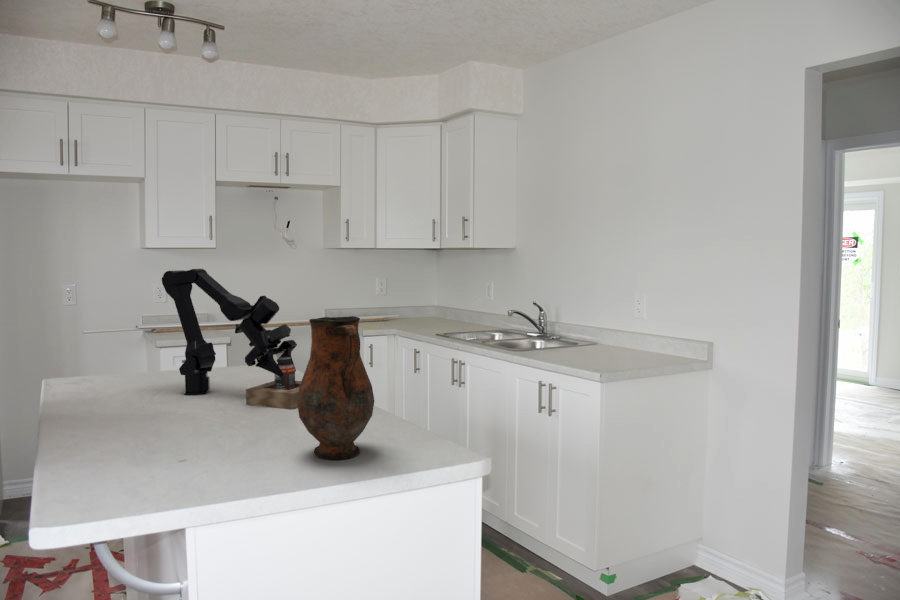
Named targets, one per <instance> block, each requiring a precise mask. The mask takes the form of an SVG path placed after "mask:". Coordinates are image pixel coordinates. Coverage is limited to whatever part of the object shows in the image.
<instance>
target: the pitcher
mask: <svg viewBox="0 0 900 600" xmlns="http://www.w3.org/2000/svg"><path fill="white" fill-rule="evenodd" d="M360 320H361V319H360V317H358V316H353V315H352V316H331V317H329V316H325V317H319V318H318V317H317V318H310V319H309V320H308V321H309V323H310V331H311V345H310V346H311V347H310V352H309V353H310V354H309V355H310V356H309V359H308V362H307V365H306V367H305V370H304V373H303V376H302V378H301V380H300V381H301V384H300V387H299V393H298V400H297V404H298V407H297V409H298V410H297V411H298V416H299V417H298V418H299V420H300V421H301V422H302V424H303V426H304V427H305V429H306V430H307V432H308V433H309V434H310V435H311V436H312V437H313V438H314V439H315V440H317V441H318V442H319V444H318V446H316V447H315V448H314V450H313V455H314V454H315V455H316V456H317V457H316V456H315V455H314V456H315V457H316V458H318V457H319V459H321V458H322V460H326V459H328V460H327V461H343V460H347V459H348V460H349V459H352V458H355V457H357V456H358V455H359V454H360V452H361V449H360V448H359V446H358V445H356V444H355V441H356V440H357V439H358V438H359V437H360V436H361V435H362V433H363V432H364V430H365V429H366V427H367V425H368V424H369V421H370V420H371V418H372V417H373V413H374V406H375V395H374V390H373V386H372V382H371V379H370V378H369V375H368V373H367V370H366V367H365V364H364V361H363V360H362V357H361V338H360V334H359V322H360Z"/></svg>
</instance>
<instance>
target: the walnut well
mask: <svg viewBox="0 0 900 600" xmlns="http://www.w3.org/2000/svg"><path fill="white" fill-rule="evenodd" d="M301 381H302V380H295V388H294V389H291V390H282V389H275V380H273V381H269V382H266V383H262V384H259V385H256V386H253V387H249V388H245V404H246V405H248V406H254V407H265V408H276V409H285V410H287V409H288V410H294V409H298V404H297V400H298V393H299V387H300V384H301Z"/></svg>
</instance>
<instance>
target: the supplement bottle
mask: <svg viewBox="0 0 900 600" xmlns="http://www.w3.org/2000/svg"><path fill="white" fill-rule="evenodd" d="M291 357H292V356H291ZM291 357H280V358H278V357H277V359H276V363H277V365H278V366H279V368H280V369H281V371H282V372H283V376H281V377H280V376H278V375H276V374H274V373H273V374H274V375H273V376H274V381H275V389H282V390H291V389H294V388H295V381H296V371H295V369H296V367H295V364H294V365H293V364H291Z"/></svg>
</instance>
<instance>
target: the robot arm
mask: <svg viewBox="0 0 900 600" xmlns="http://www.w3.org/2000/svg"><path fill="white" fill-rule="evenodd" d="M161 283H162V286H163V288H164V291H165V293H166V294H167V295H168V296H169V297H170V298H171V299H172V300H173V302H174V304H175V305H174V306H175V309H176V311H177V314H178V318H179V321H180V325H181V328H182V331H183V334H184V337H185V341H186V347H185V352H184V357H185V360H184V362H183V363H182V365H181V366H180V367H178V369H179V373H180V375H181V376H184V383H185V384H184V385H185V386H184V387H185V388H184V389H185V391H184V393H183V395H185V396H187V395H206V394H208V392H209V391H210V389H211V380H210V378H211V377H210V376H208V372H210V373H211V372H212V370H213V367H214V364H215V362H216V355H217V353H216V352H215V349H214V345H213V343H212V342H207V341H206V340H205V339H204V337H203V333H202V330H201V326H200V323H199V321H198V317H197V314H196V311H195V310H196V309H195V308H194V307H195V306H194V304H193V301H192V297H191V295H192V290H193V284H195V285H196V286H197V287H198V288H199V289H201V290H202V291H203V292H204V293H205V294H206V295H208V296H209V298H211V299H212V300H213V301H214V302H215V303H216V304H218V306H219V309H220V312H221V313H222V314H223V316H224V317H225V318H226V319H227V320H228V321H229V322H234V321H241V320H242V321H241V322H240V323H236V324H235V328H234V329H235V330H234V333H235V334H242V333H243V335H244V336H245V337H246V338H247V339H248V341H249V344H248V345H249V347H252V348H251V349H250V351H249V352H248V353H247V354H246V355H245V356H244V362H245V364H246V365H247V367H253V366H255V367H256V368H261V369H263V370H266V371H268V372H270V373H272V374H276V375H278V376H280V377H281V376H283V372H282V371H281V369H280V368H279V366H278V365H277V364H278V362H277V361H276V360H275V359H274V355H275V356H276V357H277V358H280V357H291V364H293V365H294V366H295V363H294V361H293V358H292V352H293V351H294V350H295V348H296V347H297V346H298V344H297V342H296V341H295V340H294V339H287V340H283V339H285V338H288V337H290V336H291V335H290V334H291V332H292V331H291V330H292V329H291V328H290V327H289V326H288V325H287V324H281V325H279V326H278V327H275V328H274V329H266V327H264V325H268V323H270V322H271V320H272V319H273V318H274V317H275V316H276V315H277V313H279V311H280V306H279V304H278V303H277V302H276V301H274V300H273V299H271V298H269V297H267V296H266V295H259V297H258V299H257V300H256V302H255V303H253V305H252V304H251V303H250V302H249V301H247V300H245V299H244V298H242V297H240V296H238V295H235V294H232V293H231V292H229V291H228V290H227V289H226V288H225V287H224V286H222V284H220V283H219V282H218V281H217V280H215V279H214V278H213V277H212V276H211V275H210V274H208V272H207V271H206V269H204V268H191V269H188V270H167V271H165V272H164V273H163V275H162V277H161ZM279 344H280V345H279ZM256 362H257V363H256ZM296 371H297V370H296V368H295V372H296Z"/></svg>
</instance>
